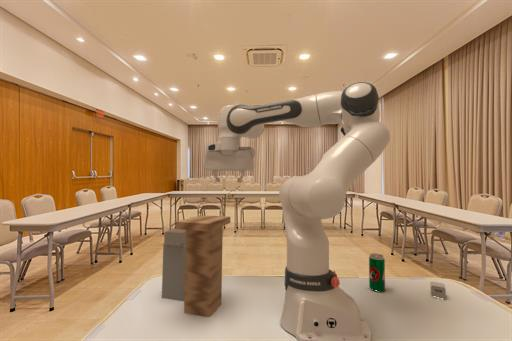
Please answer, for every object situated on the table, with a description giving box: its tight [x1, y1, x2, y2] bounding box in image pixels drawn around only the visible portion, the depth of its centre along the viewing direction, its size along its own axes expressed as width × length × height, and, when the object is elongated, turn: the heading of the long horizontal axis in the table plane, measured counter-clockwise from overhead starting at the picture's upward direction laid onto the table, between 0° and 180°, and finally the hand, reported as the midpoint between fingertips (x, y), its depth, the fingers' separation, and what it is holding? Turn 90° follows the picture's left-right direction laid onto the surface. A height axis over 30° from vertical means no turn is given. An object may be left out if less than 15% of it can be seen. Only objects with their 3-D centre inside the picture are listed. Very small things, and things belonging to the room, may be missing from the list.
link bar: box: [163, 228, 186, 246], centre depth 96 cm, size 6×26×4 cm, turn 165°
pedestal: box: [161, 243, 186, 302], centre depth 91 cm, size 8×16×17 cm, turn 165°
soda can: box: [368, 253, 386, 292], centre depth 93 cm, size 5×5×12 cm
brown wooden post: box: [174, 214, 231, 318], centre depth 78 cm, size 10×16×26 cm, turn 165°
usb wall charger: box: [429, 281, 447, 300], centre depth 89 cm, size 4×7×4 cm, turn 148°
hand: (228, 182), depth 103 cm, fingers open, 8 cm apart
